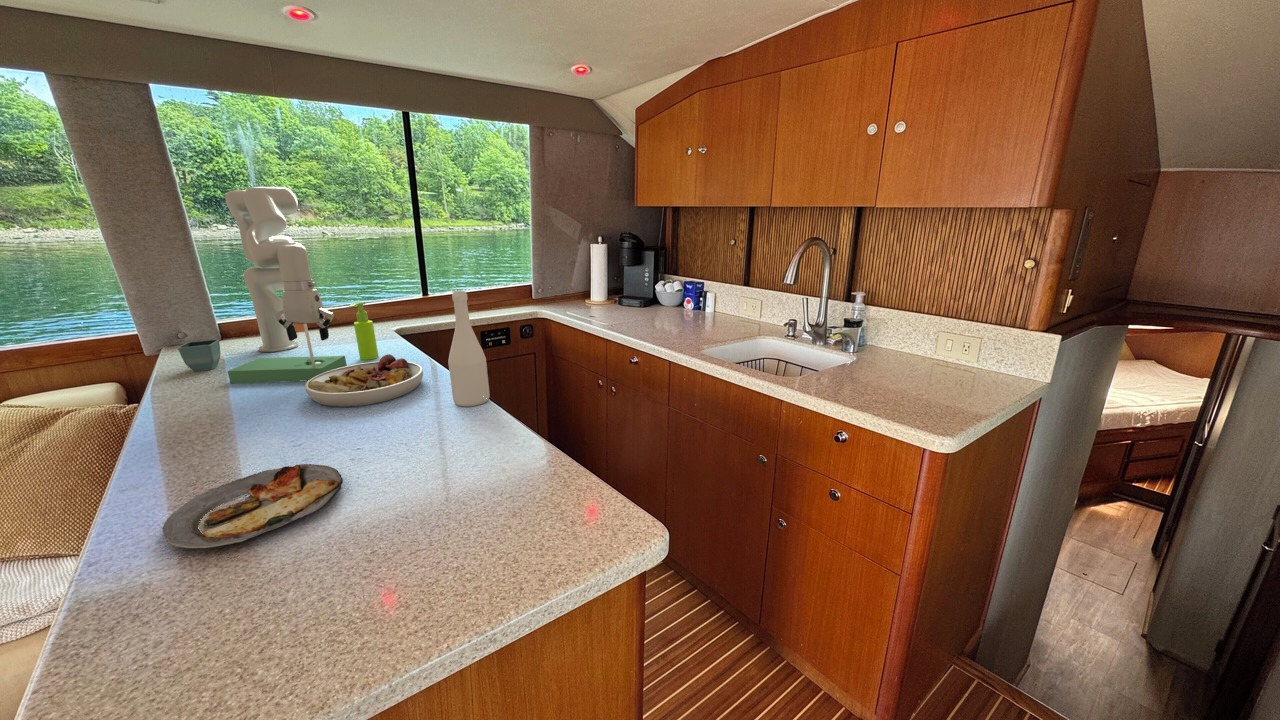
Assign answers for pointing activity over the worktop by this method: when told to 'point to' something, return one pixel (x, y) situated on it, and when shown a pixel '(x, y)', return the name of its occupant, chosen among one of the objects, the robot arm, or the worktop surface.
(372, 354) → the soap dispenser
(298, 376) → the putting mat
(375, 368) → the bowl
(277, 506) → the food plate
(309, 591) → the worktop surface
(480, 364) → the wine bottle
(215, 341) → the flower pot
